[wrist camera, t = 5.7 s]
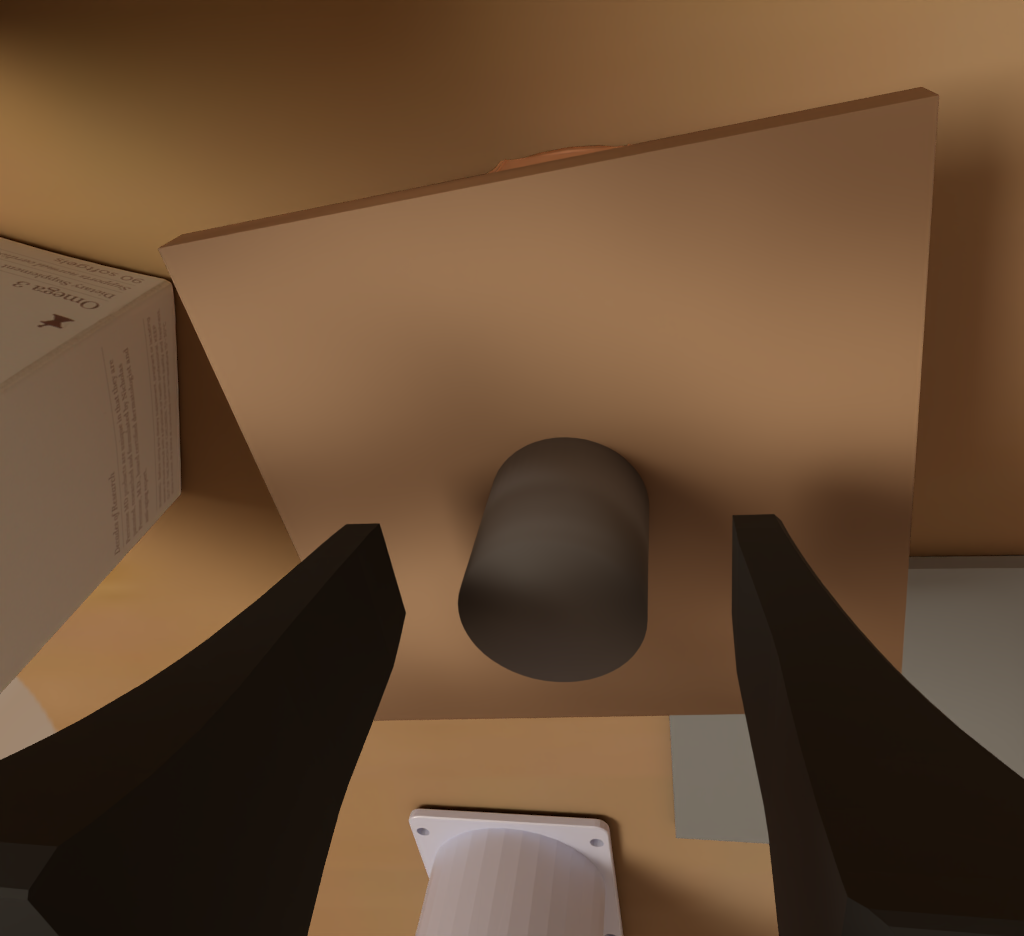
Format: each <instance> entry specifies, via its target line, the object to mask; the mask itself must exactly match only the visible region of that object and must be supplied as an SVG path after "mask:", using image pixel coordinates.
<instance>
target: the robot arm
mask: <svg viewBox="0 0 1024 936" xmlns="http://www.w3.org/2000/svg"><path fill="white" fill-rule="evenodd" d="M405 616H406V611H405V608H404V604H403V601H402V597H401V594H400V591H399V587H398V584H397V580H396V577H395V574H394V570H393V567H392V563H391V560H390V557H389V553H388V550H387V546H386V543H385V539H384V536H383V533H382V529H381V526H380V523H370V524H346V525H345V526H343V527H342V528H341V529H339V530H338V531H337V532H336V533H334V534H333V535H332V536H331V537H329V538H328V539H327V540H326V541H325V542H324V543H322V544H321V545H320V546H319V547H318V548H317V549H316V550H314V551H313V552H312V553H311V554H310V555H309V556H308V557H306V558H305V559H304V560H303V561H302V562H301V563H300V564H298V565H297V566H296V567H295V568H294V569H293V570H292V571H290V572H289V573H288V574H287V575H286V576H285V577H283V578H282V579H281V580H280V581H279V582H278V583H276V584H275V585H274V586H273V587H272V588H271V589H269V590H268V591H267V592H266V593H265V594H264V595H262V596H261V597H260V598H259V599H258V600H257V601H255V602H254V603H253V604H252V605H250V606H249V607H248V608H246V609H245V610H244V611H243V612H241V613H240V614H239V615H238V616H236V617H235V618H234V619H233V620H231V621H230V622H229V623H228V624H226V625H225V626H224V627H222V628H221V629H220V630H219V631H217V632H216V633H215V634H214V635H212V636H211V637H210V638H209V639H207V640H206V641H204V642H203V643H202V644H200V645H199V646H198V647H196V648H195V649H193V650H192V651H191V652H189V653H188V654H186V655H185V656H184V657H182V658H181V659H179V660H178V661H176V662H175V663H173V664H172V665H170V666H169V667H167V668H166V669H164V670H163V671H161V672H160V673H158V674H157V675H155V676H154V677H152V678H151V679H149V680H148V681H146V682H144V683H143V684H141V685H140V686H138V687H136V688H134V689H133V690H131V691H129V692H128V693H126V694H124V695H123V696H121V697H119V698H117V699H116V700H114V701H112V702H111V703H109V704H107V705H105V706H104V707H102V708H100V709H99V710H97V711H95V712H94V713H92V714H90V715H88V716H87V717H85V718H83V719H81V720H79V721H78V722H76V723H74V724H72V725H70V726H68V727H66V728H64V729H62V730H60V731H59V732H57V733H55V734H53V735H51V736H49V737H47V738H45V739H43V740H41V741H39V742H37V743H35V744H33V745H31V746H29V747H27V748H25V749H23V750H20V751H18V752H16V753H14V754H12V755H10V756H8V757H6V758H4V759H2V760H0V936H307V935H308V930H309V926H310V922H311V918H312V914H313V910H314V906H315V902H316V898H317V894H318V890H319V886H320V882H321V877H322V873H323V869H324V865H325V862H326V858H327V855H328V851H329V847H330V844H331V840H332V836H333V833H334V829H335V825H336V822H337V818H338V814H339V811H340V808H341V805H342V802H343V799H344V796H345V793H346V790H347V787H348V784H349V781H350V779H351V776H352V774H353V771H354V769H355V766H356V763H357V761H358V758H359V756H360V753H361V751H362V748H363V745H364V743H365V740H366V738H367V735H368V733H369V730H370V727H371V725H372V722H373V720H374V717H375V715H376V712H377V710H378V707H379V704H380V702H381V699H382V696H383V694H384V691H385V688H386V686H387V683H388V681H389V678H390V675H391V672H392V670H393V667H394V663H395V659H396V655H397V651H398V647H399V643H400V639H401V634H402V629H403V625H404V620H405ZM732 625H733V637H734V649H735V660H736V671H737V677H738V682H739V687H740V692H741V697H742V702H743V707H744V712H745V717H746V722H747V727H748V731H749V736H750V741H751V746H752V751H753V756H754V761H755V766H756V771H757V776H758V780H759V785H760V790H761V795H762V800H763V805H764V811H765V817H766V824H767V830H768V836H769V846H770V855H771V864H772V874H773V883H774V893H775V902H776V912H777V922H778V932H779V936H1024V778H1022V777H1021V776H1020V775H1018V774H1017V773H1016V772H1015V771H1013V770H1012V769H1011V768H1010V767H1008V766H1007V765H1006V764H1004V763H1003V762H1002V761H1001V760H999V759H998V758H997V757H996V756H994V755H993V754H992V753H991V752H989V751H988V750H987V749H986V748H984V747H983V746H982V745H980V744H979V743H978V742H977V741H975V740H974V739H973V738H972V737H970V736H969V735H968V734H967V733H965V732H964V731H963V730H962V729H961V728H959V727H958V726H957V725H956V724H955V723H954V722H953V721H951V720H950V719H949V718H948V717H947V716H946V715H945V714H944V713H942V712H941V711H940V710H939V709H938V708H937V707H936V706H935V705H933V704H932V703H931V702H930V701H929V700H928V699H927V698H926V697H925V696H924V695H923V694H922V693H921V692H920V691H919V690H917V689H916V688H915V687H914V686H913V685H912V684H911V683H910V682H909V681H908V680H907V679H906V678H905V677H904V676H903V675H902V674H901V673H900V672H899V671H898V670H897V669H896V668H895V667H894V666H893V665H892V664H891V663H890V662H889V661H888V660H887V659H886V658H885V657H884V655H883V654H882V653H881V652H880V651H879V650H878V649H877V648H876V647H875V646H874V645H873V643H872V642H871V641H870V640H869V639H868V638H867V637H866V636H865V635H864V633H863V632H862V631H861V630H860V629H859V628H858V627H857V625H856V624H855V623H854V622H853V621H852V620H851V618H850V617H849V616H848V615H847V614H846V612H845V611H844V610H843V609H842V607H841V606H840V605H839V604H838V602H837V601H836V600H835V598H834V597H833V596H832V595H831V593H830V592H829V591H828V590H827V588H826V587H825V586H824V584H823V583H822V582H821V580H820V579H819V578H818V576H817V575H816V574H815V572H814V571H813V570H812V568H811V567H810V565H809V564H808V562H807V561H806V559H805V558H804V557H803V555H802V554H801V552H800V551H799V549H798V548H797V546H796V544H795V543H794V541H793V540H792V538H791V536H790V535H789V533H788V531H787V530H786V528H785V526H784V524H783V523H782V521H781V520H780V519H779V518H778V517H777V516H776V515H775V514H757V515H732ZM409 824H410V826H411V829H412V832H413V835H414V838H415V840H416V843H417V846H418V849H419V851H420V854H421V857H422V860H423V863H424V865H425V868H426V871H427V874H428V876H429V883H428V887H427V891H426V895H425V899H424V903H423V907H422V911H421V915H420V919H419V923H418V927H417V931H416V935H415V936H623V929H622V921H621V914H620V906H619V898H618V891H617V883H616V875H615V868H614V860H613V852H612V845H611V837H610V829H609V826H608V824H607V823H606V822H604V821H602V820H600V819H593V818H576V817H558V816H541V815H524V814H507V813H490V812H472V811H455V810H438V809H415V810H413V811H412V812H411V814H410V818H409Z"/></svg>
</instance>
